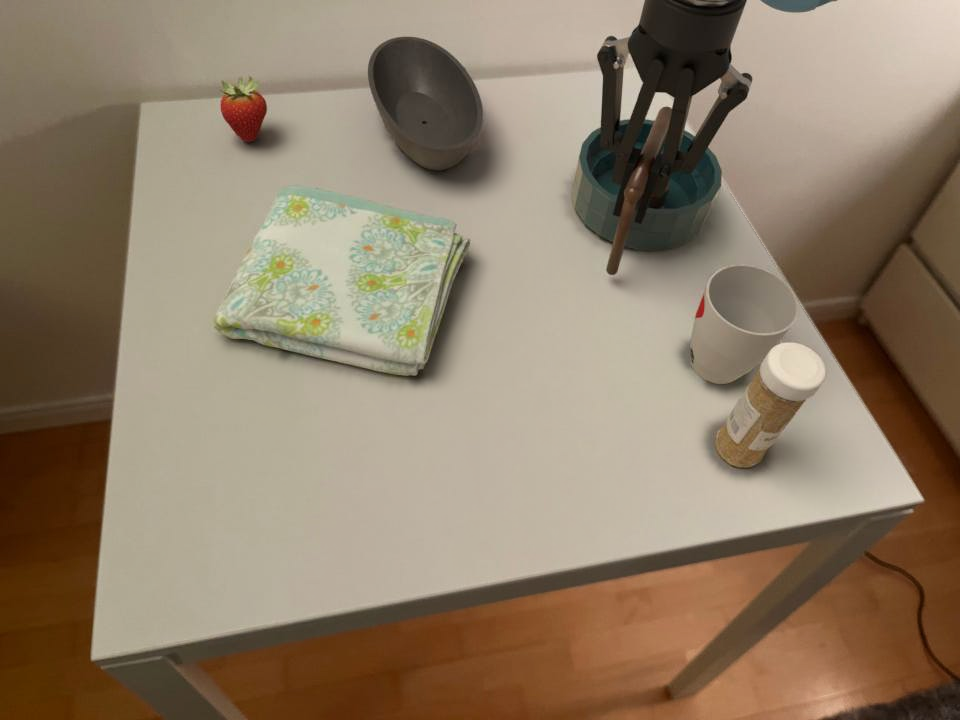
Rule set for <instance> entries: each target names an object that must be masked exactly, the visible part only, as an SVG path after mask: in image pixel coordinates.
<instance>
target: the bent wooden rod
mask: <svg viewBox="0 0 960 720" xmlns="http://www.w3.org/2000/svg"><path fill="white" fill-rule="evenodd" d="M671 114H672V107H670V106H663V107H660V109H659V110H658V113H657V114H656V117H655V119H654V120H653V121H654V124H653V126H652V128H651V131H650V133H649V135H648V138H647V140H646V142H645V145H644V147H643V149H642V151H641V154H640V156H639V159H638V161H637V163H636V166H635V168H634V170H633V172H632V175H631V177H630V179H629V182H628V184H627V186H626V188H625V191H624V196H625V199H624V203H623V207H622V211H621V215H620V218H619V222H618V226H617V230H616V234H615V238H614V241H613V242H612V245H611V249H610V253H609V257H608V261H607V264H606V268H605V270H606V273H607V274H608V275H609V276H615V275H616V274H617V273H618V271H619V268H620V264H621V261H622V258H623V253H624V251H625V243H626V240H627V236H628V233H629V229H630V226H631V222H632V218H633V215H634V211H635V208H636V205H638V206H639V205H640V202H641V199H642V195H643V192H644V189H645V186H646V183H647V180H648V176H649V173H650V170H651V168H652V166H653V163H654V161H655V158H656V156H657V154H658V155H660V154H661V151H662V147H663V144H664V140H665V137H666V134H667V132H668V127H669V123H670V118H671ZM669 187H670V180H669V183H668V185H667V188H666V191H665V193H664V195H663V196H662V197H657V196H654V195H652V197H651V200H650V203H649V206H648V208H653V209H659V208H661V207H662V206H663V205H664V203H665V200H666V197H667V194H668V191H669Z"/></svg>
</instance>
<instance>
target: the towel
mask: <svg viewBox="0 0 960 720" xmlns="http://www.w3.org/2000/svg"><path fill="white" fill-rule="evenodd" d="M456 229H457V223H456V222H455V221H452V220H450V219H448V218H447V219H446V218H443V217H437V216H432V215H431V216H430V215H425V214H422V213H421V214H420V213H417V212H414V211H409V210H405V209H400V208H396V207H392V206H390V205H389V206H388V205H387V204H386V205H385V204H382V203H378V202H375V201H371V200H367V199H363V198H359V197H356V196H351V195H348V194H345V193H344V194H343V193H340V192H335V191H331V190H326V189H325V190H324V189H320V188H315V187H311V186H303V185H298V184H297V185H292V186H288V187H287V186H285V187H284V186H283V187H282V188H281V189H280V191H279V192H278V194H277V196H276V198H275V199H274V200H273V201H272V204H271V206H270V208H269V210H268V211H267V213H266V215H265V217H264V219H263V221H262V223H261V225H260V227H259V229H258V231H257V233H256V234H255V237H254V239H253V241H252V242H251V245H250V246H249V248H248V250H247V251H246V253H245V256H244V257H243V259H242V260H241V263H240V265H239V267H238V268H237V270H236V273H235V275H234V277H233V279H232V281H231V282H230V284H229V287H228V289H227V290H226V292H225V294H224V295H223V298H222V301H221V303H220V306H219V307H218V309H217V311H216V313H215V317H214V319H213V321H212V325H213V328H214V329H215V330H216V331H218V332H219V333H220V334H221V335H223V336H226V337H228V338H229V339H233V340H240V339H243V340H248V341H254V342H256V343H257V344H260V345H263V346H267V347H270V348H271V347H272V348H277V349H281V350H286V351H288V352H294V353H297V354H301V355H306V356H310V357H315V358H318V359H323V360H324V359H325V360H329V361H333V362H338V363H340V364H341V363H342V364H346V365H351V366H354V367H359V368H363V369H366V370H371V371H376V372H379V373H386V374H391V375H396V376H406V377H407V376H415V377H416V376H418V374H419V371H420V370H424V369H425V366H426V363H428V361H429V357H430V354H431V351H432V349H433V345H434V341H435V339H436V335H437V333H438V330H439V327H440V324H441V321H442V318H443V315H444V312H445V309H446V305H447V303H448V299H449V296H450V293H451V290H452V286H453V283H454V280H455V279H456V276H457V275H458V274H457V273H458V272H459V269H460V267H461V265H462V264H463V262H464V259H465V257H466V255H467V252H468V250H469V248H470V246H471V238H469V237H465V236H464V235H462V234H459V233H456Z"/></svg>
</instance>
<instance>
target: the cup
mask: <svg viewBox="0 0 960 720" xmlns="http://www.w3.org/2000/svg"><path fill="white" fill-rule="evenodd" d="M799 311H800V307H799V302H798V299H797V296H796V294H795V293H794V291H793V289H792V288H791V287H790V286H789V284H788V283H787V282H786V281H785V280H783V279H782V278H781V276H778V275H777V274H775V273H773V272H772V271H770V270H768V269H765V268H763V267H760V266H756V265H752V264H744V263H739V264H738V263H737V264H731V265H726V266H724V267H723V266H722V267H721V268H719V269H717V270H716V271H715V272H713V274H712V275H711V276H710V277H709V279H708V281H707V284H706V285H705V289H704V291H703V294H702V296H701V300H700V302H699V305H698V307H697V310H696V313H695V316H694V321H693V325H692V326H693V327H692V331H691V335H690V341H689V342H690V344H689V345H690V347H689V348H690V349H689V351H690V352H689V353H690V357H689V358H690V364H691V367H692V369H693V371H694V372H695V373H696V374H697V375H698V376H699V377H700V378H702V380H705V381H707V382H709V383H711V384H716V385H726V384H731V383H732V382H734V381H736V380H738V379H739V378H741V377H743V376H744V375H746V374H748V373H749V372H751V371H753V369H754V368H756V366H758V365H759V364H760V363H762V361H763V360H764V358H765V357H766V355H767V354H768V353H769V351H770V350H771V349H772V348H773V347H774V346H776V345H778V344H780V342H781V341H782V339H783V338H784V337H785V335H786V334H787V333H788V331H789V330H790V329H791V328H792V326H793V325H794V324H795V323H796V322H797V319H798V316H799V313H800V312H799Z"/></svg>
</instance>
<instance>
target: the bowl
mask: <svg viewBox="0 0 960 720" xmlns="http://www.w3.org/2000/svg"><path fill="white" fill-rule="evenodd" d="M367 79H368V80H367V81H368V85H369V89H370V92H371V95H372V98H373V101H374V103H375V106H376V109H377V111H378V113H379V116H380V118H381V120H382V122H383V124H384V126H385V128H386V130H387V132H388V133H389V135H390V136H391V138H392V139H393V141H394V142H395V144H396V145H397V146H398V147H399V149H400V150H401V151H402V152H403V153H404V154H405V155H406V156H407V157H408V158H409V159H410V160H411V161H412V162H414V163H415V164H417V165H418V166H420V167H422V168H424V169H426V170H430V171H434V172H435V171H437V172H440V171H445V170H448V169H450V168H452V167H454V166H456V165H457V164H459V163H460V162H461V161H462V160H463V159H465V157H466V156H467V154H469V152H470V151H471V149H472V147H473V146H474V144H475V142H476V140H477V138H478V137H479V134H480V132H481V129H482V126H483V123H484V108H483V103H482V99H481V96H480V95H481V94H480V92H479V91H478V88H477V86H476V84H475V82H474V80H473V78H472V77H471V75H470V74H469V72H468V71H467V69H466V68H465V66H464V65H463V64H462V63H461V62H460V61H459V60H458V59H457V58H456V57H455V56H454V55H453V54H452V53H451V52H450V51H448V50H446V48H444V47H442V46H441V45H439V44H437V43H435V42H433V41H431V40H428V39H425V38H422V37H416V36H398V37H393V38H390V39H387V40H384V41H383V42H382V43H380V44H378V45H377V46H376V47H375V49H374V50H373V51H372V53H371V54H370V57H369V61H368V65H367Z"/></svg>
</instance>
